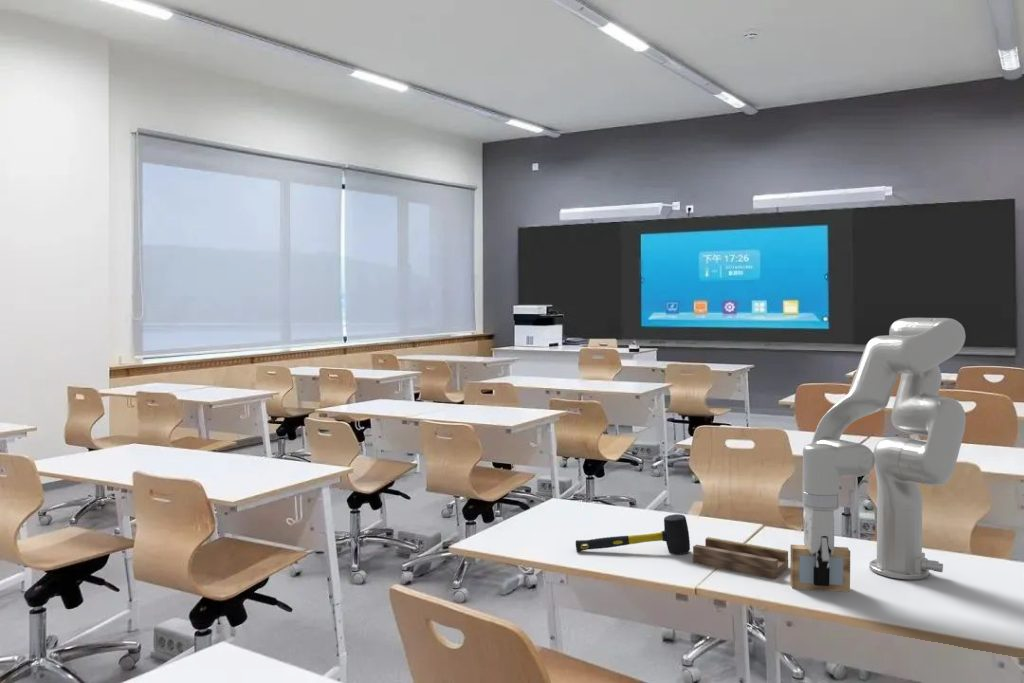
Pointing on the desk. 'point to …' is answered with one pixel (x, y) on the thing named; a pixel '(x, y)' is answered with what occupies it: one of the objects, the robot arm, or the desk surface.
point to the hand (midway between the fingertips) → (819, 581)
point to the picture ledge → (741, 557)
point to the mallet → (648, 537)
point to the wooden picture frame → (805, 564)
